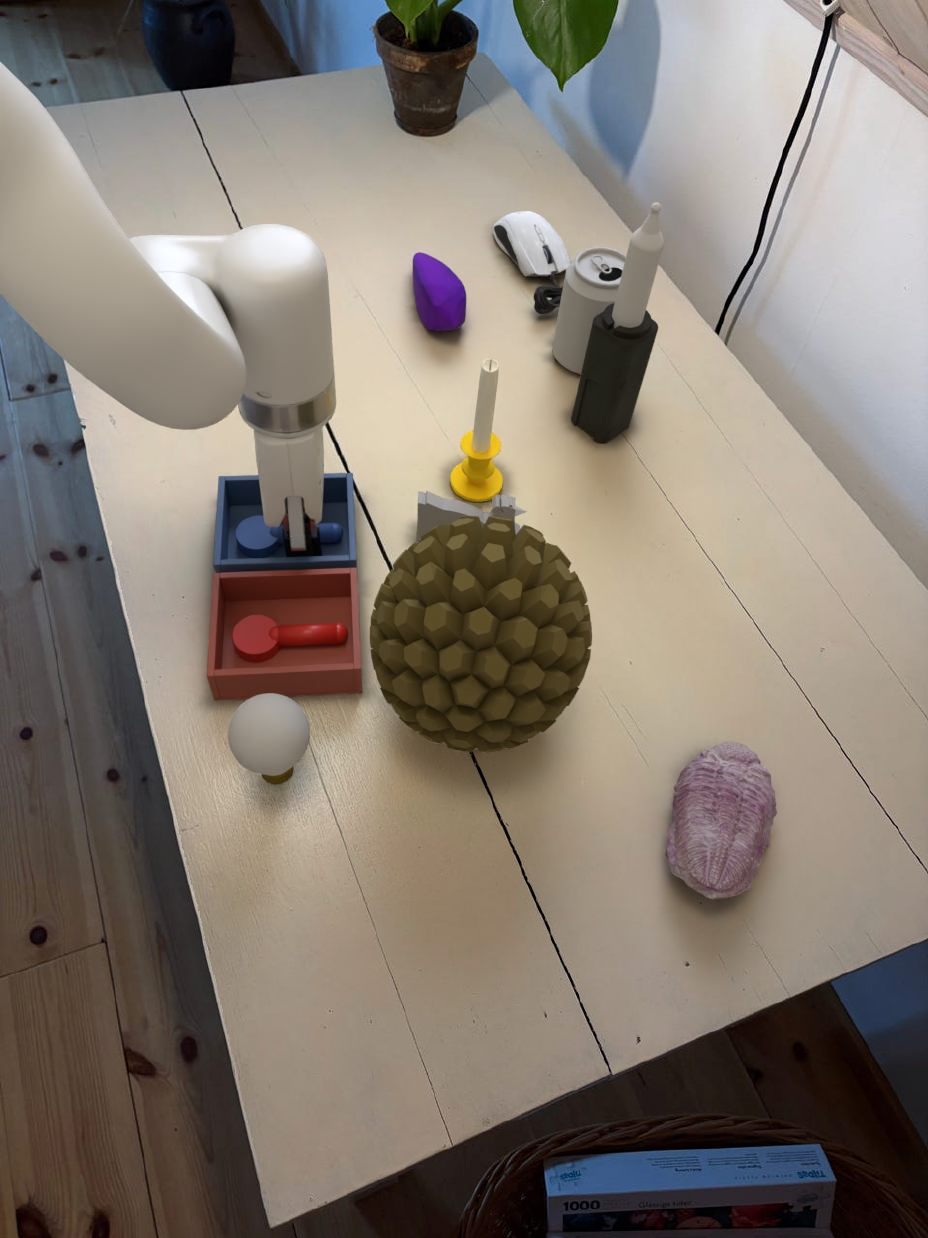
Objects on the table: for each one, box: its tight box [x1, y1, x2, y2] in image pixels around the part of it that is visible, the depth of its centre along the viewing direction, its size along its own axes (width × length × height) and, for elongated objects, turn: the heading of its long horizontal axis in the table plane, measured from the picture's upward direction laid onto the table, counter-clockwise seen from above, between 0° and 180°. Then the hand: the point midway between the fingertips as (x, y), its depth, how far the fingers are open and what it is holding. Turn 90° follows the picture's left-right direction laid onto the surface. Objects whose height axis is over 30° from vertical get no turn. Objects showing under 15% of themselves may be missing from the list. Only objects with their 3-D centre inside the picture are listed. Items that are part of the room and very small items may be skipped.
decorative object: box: [369, 516, 593, 754], centre depth 71 cm, size 17×17×20 cm
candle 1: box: [449, 357, 504, 503], centre depth 87 cm, size 5×5×16 cm
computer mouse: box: [492, 210, 572, 315], centre depth 111 cm, size 10×18×4 cm, turn 26°
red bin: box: [206, 567, 363, 701], centre depth 80 cm, size 12×10×4 cm
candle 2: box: [570, 201, 665, 444], centre depth 89 cm, size 5×5×25 cm
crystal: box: [412, 251, 467, 331], centre depth 106 cm, size 5×5×15 cm
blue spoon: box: [236, 515, 344, 558], centre depth 86 cm, size 10×4×2 cm, turn 96°
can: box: [551, 246, 627, 376], centre depth 100 cm, size 8×8×12 cm
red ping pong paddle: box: [232, 615, 348, 662], centre depth 80 cm, size 10×4×2 cm, turn 96°
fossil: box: [665, 741, 778, 901], centre depth 73 cm, size 8×14×5 cm, turn 159°
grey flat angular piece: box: [416, 490, 528, 543], centre depth 87 cm, size 6×1×10 cm
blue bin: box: [212, 472, 358, 573], centre depth 86 cm, size 12×10×4 cm
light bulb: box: [227, 693, 311, 786], centre depth 71 cm, size 6×6×10 cm
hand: (304, 537), depth 87 cm, fingers open, 3 cm apart
